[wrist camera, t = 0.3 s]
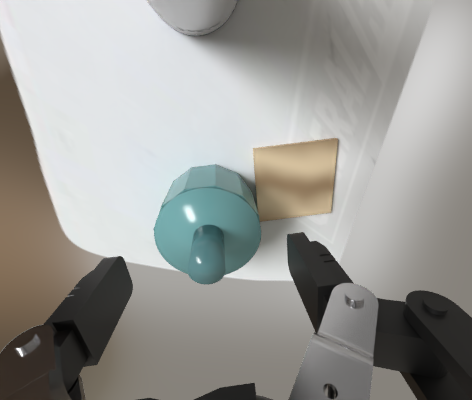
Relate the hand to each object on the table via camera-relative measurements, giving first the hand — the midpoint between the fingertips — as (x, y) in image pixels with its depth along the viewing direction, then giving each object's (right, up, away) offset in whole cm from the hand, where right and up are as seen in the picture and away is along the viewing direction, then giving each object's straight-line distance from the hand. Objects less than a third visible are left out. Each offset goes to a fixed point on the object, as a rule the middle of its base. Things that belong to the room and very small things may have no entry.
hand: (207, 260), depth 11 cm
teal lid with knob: (-2, +2, +21) cm, 21 cm away
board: (+9, +5, +20) cm, 23 cm away
